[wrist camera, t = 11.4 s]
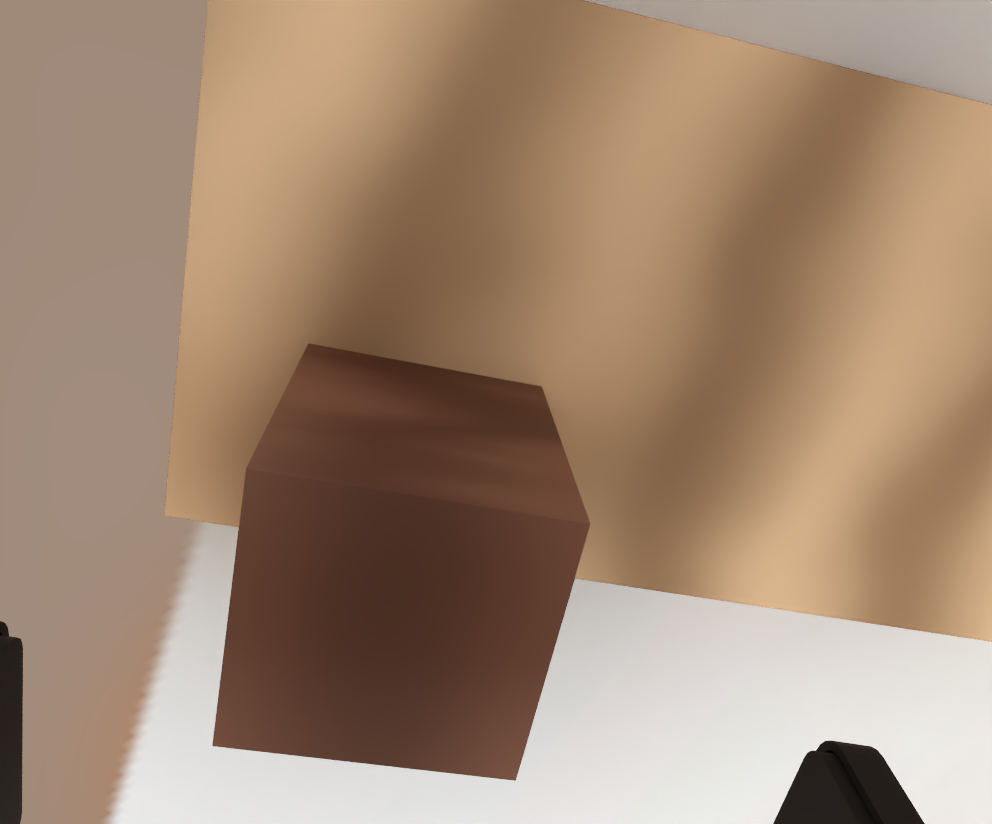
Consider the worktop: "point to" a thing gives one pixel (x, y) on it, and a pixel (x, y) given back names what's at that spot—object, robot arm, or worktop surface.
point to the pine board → (616, 281)
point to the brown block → (399, 568)
